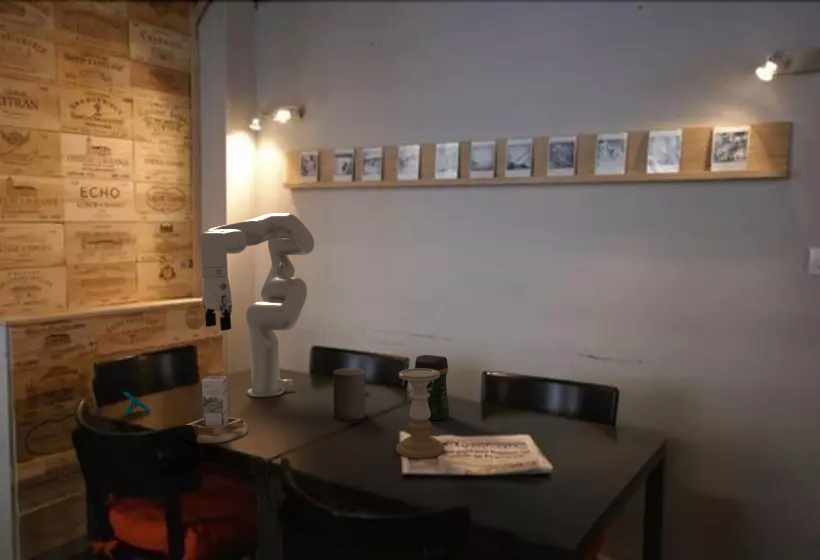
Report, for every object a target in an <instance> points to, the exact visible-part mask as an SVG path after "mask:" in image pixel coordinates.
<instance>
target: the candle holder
mask: <svg viewBox="0 0 820 560" xmlns="http://www.w3.org/2000/svg"><path fill="white" fill-rule="evenodd" d="M398 377H399V379H402V380H404V381H408V382H409V384H410V385H411V386H412V391H411V392H410V394H409V398H411V405H410V408H409V412H408V415H409V418H410V419H411V420H410V422H408V427H409V428H410V430H411V432H410V436H408V437H406V438H404V439H403V440H401V441H400V442H398V443H397V444H396V447H395V449H396V453H397V454H398V455H400V456H403V457H405V458H410V459H429V458H435V457H437V456H440V455H442V454H443V453H444V452H445V443H443V442H442V441H440V440H439V439H437V438H436V437H434V436H430V428H431V427H432V425H433V423H432V422H431V420H428V419H429V418H430V416H431V412H430V409H429V406H428V401H427V398H428V397H429V396H430V394H429V393H428V392H427V390H426V387H427V385H428V384H429V382H430V380H434V379H437V378H439V377H440V372H439V371H437V370H433V369H425V368H416V369H415V368H408V369H403V370H400V371H399V372H398Z"/></svg>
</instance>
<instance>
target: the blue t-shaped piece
mask: <svg viewBox="0 0 820 560" xmlns="http://www.w3.org/2000/svg"><path fill="white" fill-rule="evenodd" d="M122 395H125V396H126V397H127V398H128V399H129V403H128V406H127V407H126V408H125V409H124V412H125V411H127V412H125V413H124V415H125V416H127V415H128V414H130V413H131V412H132V411H133V410H134V409H136V408H137V407H138V406H139V407H140V408H142V409H143V410H144V411H146V412H148V413H150V412H151V409H150V408H149V407H148V406H147V405H145V404H144V403H143V402H141V399H140V398H139V397H138V398H136V397H135V396H133V395H131V393H129V392H128V391H126V390H125V391H124V392H123V393H122ZM128 416H129V415H128Z"/></svg>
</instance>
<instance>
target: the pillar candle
mask: <svg viewBox="0 0 820 560" xmlns="http://www.w3.org/2000/svg"><path fill="white" fill-rule="evenodd" d="M332 373H333V374H332V375H333V378H332V383H333V414H334V415H333V417H334V418H335V419H338V420H344V421H350V420H351V421H352V420H359V419H362V418H365V417H366V414H367V413H366V407H367V406H366V369H362V368H357V367H349V366H348V367H344V368H338V369H334V370H333V372H332Z"/></svg>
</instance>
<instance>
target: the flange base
mask: <svg viewBox="0 0 820 560" xmlns="http://www.w3.org/2000/svg"><path fill="white" fill-rule="evenodd" d="M228 422H229V423H228V424H225V425H223V426H220V427H217V428H211V427H205V426H204V418H201V419H197V420H195V421H192V422H190V423H187V424H185V425H192V426H193V427H194V429H195V431H196V436H197V442H198V443H197V444H217V443H224V442H228V441H229V442H230V441H232V440H237V439H239V438H241V437H243V436H245V435H246V434H247V433H248V432H249V425H248V424H247V422H244V418H238V417H231V416H228Z"/></svg>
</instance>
